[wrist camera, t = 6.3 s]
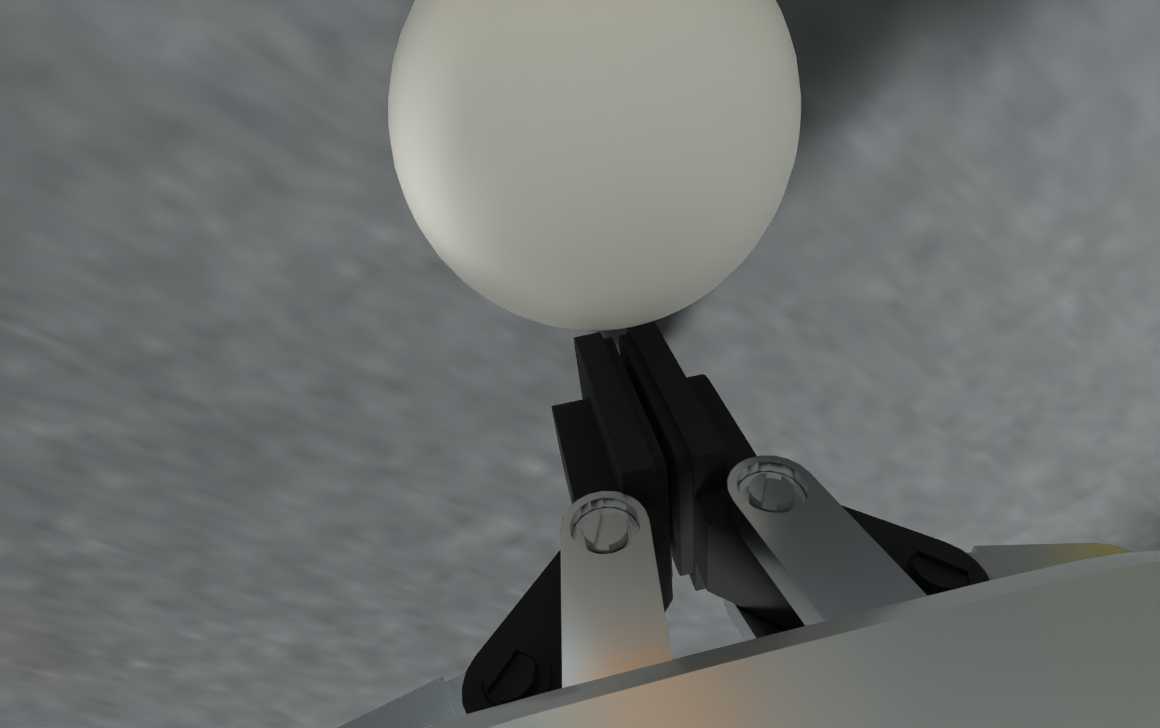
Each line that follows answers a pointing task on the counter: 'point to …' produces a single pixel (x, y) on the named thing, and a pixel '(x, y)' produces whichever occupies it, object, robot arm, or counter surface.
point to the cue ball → (594, 147)
